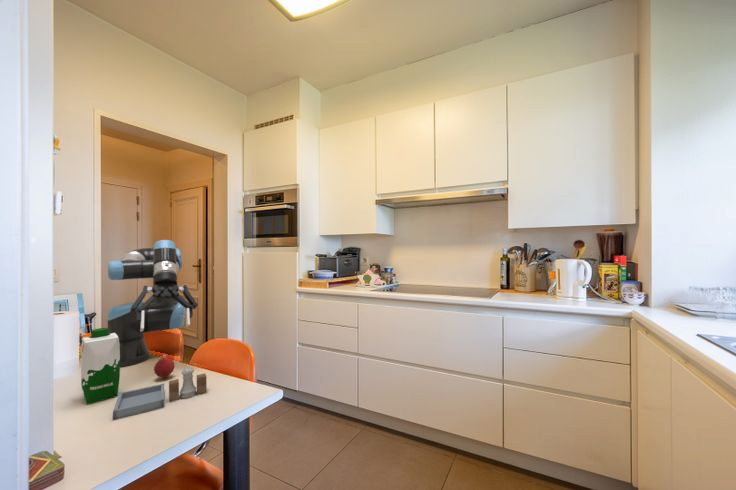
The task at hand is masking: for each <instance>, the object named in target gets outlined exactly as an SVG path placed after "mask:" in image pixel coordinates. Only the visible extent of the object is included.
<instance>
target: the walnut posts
mask: <svg viewBox="0 0 736 490" xmlns="http://www.w3.org/2000/svg"><path fill="white" fill-rule="evenodd" d="M207 388H208V387H207V374H206V373H199V374H196V394H197V396H199V395H204V394H207ZM179 400H180V380H179V378H176V379H172V380H169V381H168V402H169V403H170V402H174V401H179Z"/></svg>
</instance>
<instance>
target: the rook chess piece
mask: <svg viewBox="0 0 736 490" xmlns="http://www.w3.org/2000/svg"><path fill="white" fill-rule="evenodd" d="M193 368H194V367H192V366H189V368H188V366H187V367H185V368H182V372H181V374H182V375H183V376H182V380H183V382H182V386H181V389H180V390H179V398H181V399H188V398H192V397H194V396H196V394H197V386H195V384H194V380H193V377H194V375H193V373H194V372H195V370H194V369H193Z"/></svg>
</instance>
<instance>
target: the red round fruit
mask: <svg viewBox="0 0 736 490" xmlns="http://www.w3.org/2000/svg"><path fill="white" fill-rule="evenodd" d="M174 369H175V362H174V361H173V359H171V358H170V357H168V355H167V354H163V356H162V357H161V358H160V359H158V360H157V362H156V363H155V365H154V369H153V370H154V374H155V375H156V376H157V377H159V378H160V379H167V378H168V377H169V376H170V375H171V374H172V373H173V372H174Z"/></svg>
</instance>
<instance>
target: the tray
mask: <svg viewBox="0 0 736 490" xmlns="http://www.w3.org/2000/svg"><path fill="white" fill-rule="evenodd" d="M114 405H115V406H114V408H113V410H112V420H113V421H115V420H119V419H123V418H127V417H132V416H134V415H135V416H136V415H139V414H143V413H146V412H150V411H155V410H159V409H163V408H165V383H160V384H155V385H150V386H146V387H140V388H137V389H133V390H127V391H122V392H118V396H117V399H116V402H115V404H114Z"/></svg>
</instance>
